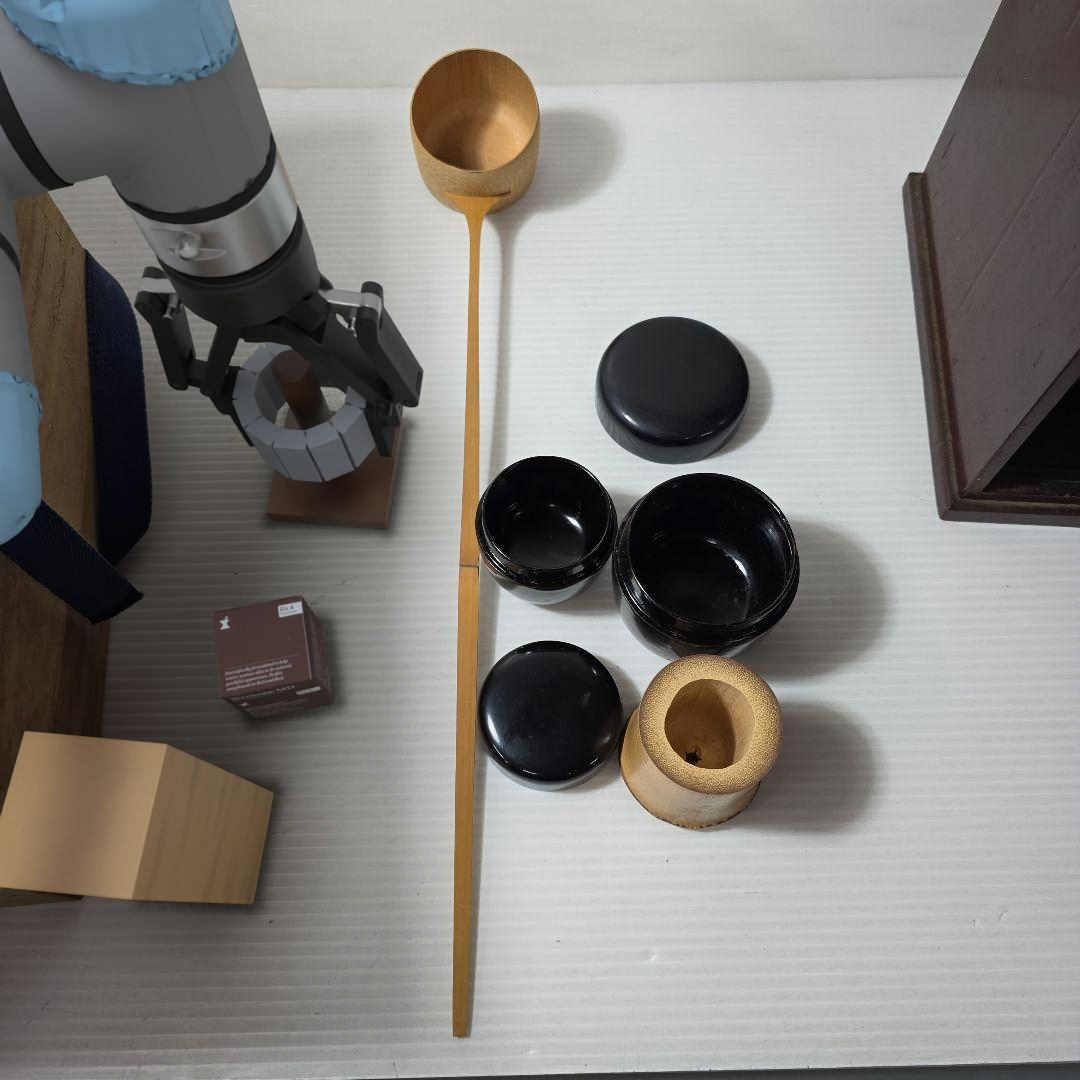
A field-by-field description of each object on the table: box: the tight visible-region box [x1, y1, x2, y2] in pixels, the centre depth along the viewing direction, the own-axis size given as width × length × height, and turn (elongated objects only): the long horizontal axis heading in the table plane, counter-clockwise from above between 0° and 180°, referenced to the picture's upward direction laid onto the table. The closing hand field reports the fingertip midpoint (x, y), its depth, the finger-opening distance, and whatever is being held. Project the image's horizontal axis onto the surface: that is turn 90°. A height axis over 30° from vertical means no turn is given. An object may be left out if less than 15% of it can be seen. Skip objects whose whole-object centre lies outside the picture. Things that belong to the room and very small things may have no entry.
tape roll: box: [232, 342, 376, 482], centre depth 65 cm, size 9×9×5 cm
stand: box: [0, 730, 275, 905], centre depth 55 cm, size 7×7×20 cm
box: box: [211, 594, 334, 720], centre depth 65 cm, size 6×6×7 cm
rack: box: [265, 349, 405, 531], centre depth 67 cm, size 9×9×16 cm
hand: (323, 435), depth 69 cm, fingers closed on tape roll, 9 cm apart
